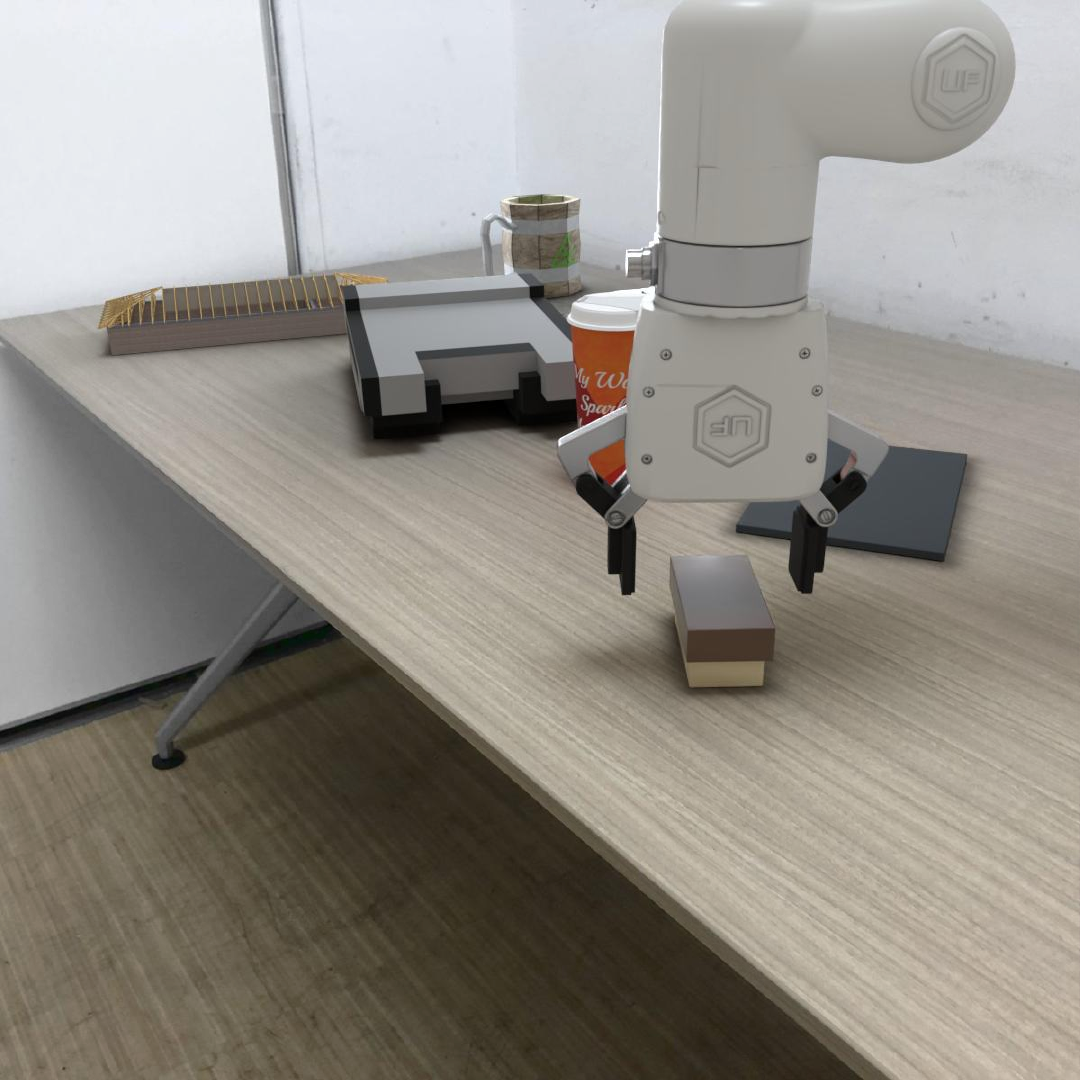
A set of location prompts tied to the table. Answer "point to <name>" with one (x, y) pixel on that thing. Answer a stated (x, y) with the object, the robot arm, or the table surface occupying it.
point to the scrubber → (721, 620)
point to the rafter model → (228, 313)
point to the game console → (458, 351)
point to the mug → (538, 240)
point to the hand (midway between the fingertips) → (712, 583)
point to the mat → (882, 505)
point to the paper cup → (603, 365)
